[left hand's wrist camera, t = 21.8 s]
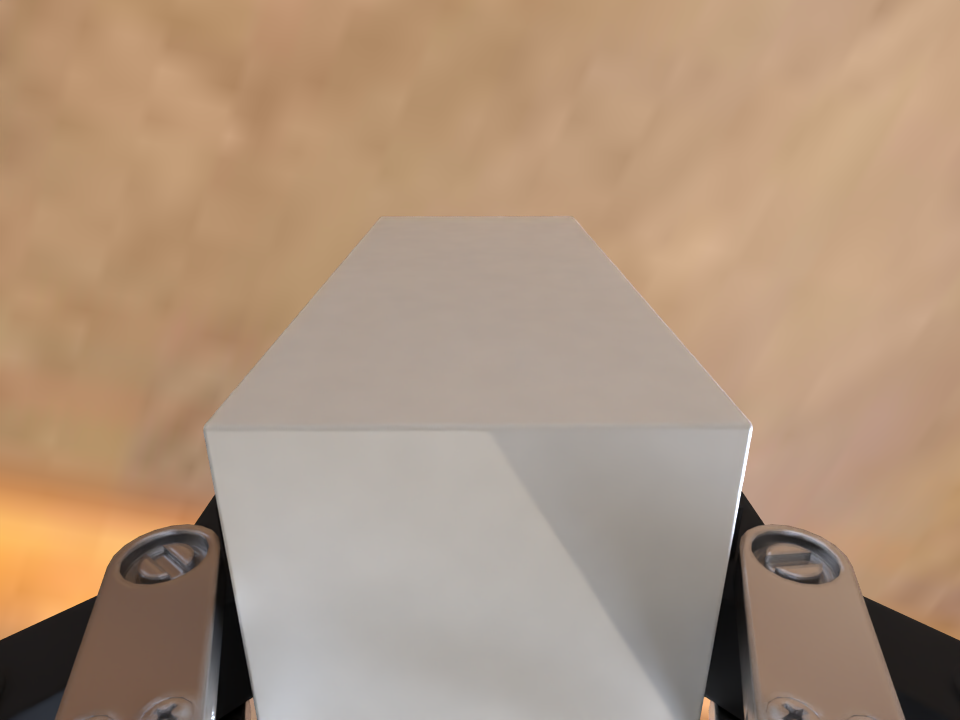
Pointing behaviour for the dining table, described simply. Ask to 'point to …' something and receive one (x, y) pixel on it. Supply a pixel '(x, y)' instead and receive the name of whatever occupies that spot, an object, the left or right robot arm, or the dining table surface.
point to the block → (478, 487)
